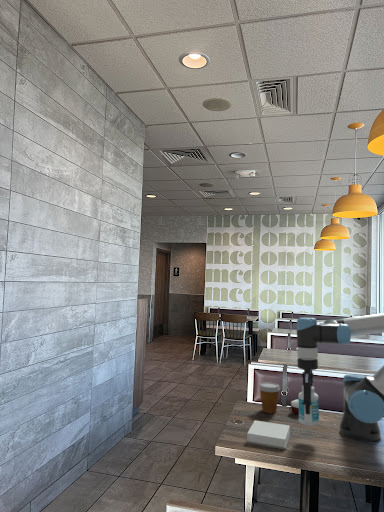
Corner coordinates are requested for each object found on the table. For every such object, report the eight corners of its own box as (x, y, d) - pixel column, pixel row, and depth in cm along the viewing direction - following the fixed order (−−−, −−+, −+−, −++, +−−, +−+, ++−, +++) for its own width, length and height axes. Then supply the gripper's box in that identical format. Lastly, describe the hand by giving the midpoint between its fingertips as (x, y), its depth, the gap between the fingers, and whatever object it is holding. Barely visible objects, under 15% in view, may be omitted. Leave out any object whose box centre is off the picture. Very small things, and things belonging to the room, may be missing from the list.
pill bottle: (312, 428, 139) (311, 391, 140) (295, 422, 145) (294, 386, 146) (322, 423, 144) (322, 387, 145) (305, 417, 150) (305, 383, 151)
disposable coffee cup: (280, 415, 171) (280, 388, 171) (258, 413, 173) (258, 386, 173) (279, 408, 180) (279, 382, 181) (259, 406, 182) (259, 381, 183)
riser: (290, 434, 150) (290, 425, 150) (285, 449, 136) (285, 439, 137) (254, 428, 155) (254, 420, 155) (246, 442, 141) (246, 433, 142)
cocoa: (290, 416, 171) (289, 389, 171) (287, 411, 177) (286, 385, 177) (311, 416, 170) (310, 389, 171) (307, 410, 176) (306, 385, 177)
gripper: (299, 352, 157) (301, 408, 155) (294, 362, 138) (296, 426, 137) (318, 353, 154) (320, 410, 153) (316, 364, 135) (318, 429, 134)
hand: (308, 418), depth 145 cm, fingers closed on pill bottle, 7 cm apart
